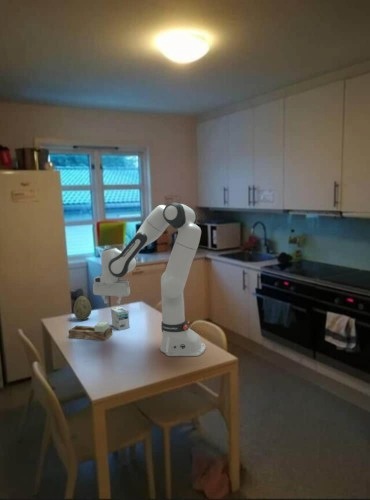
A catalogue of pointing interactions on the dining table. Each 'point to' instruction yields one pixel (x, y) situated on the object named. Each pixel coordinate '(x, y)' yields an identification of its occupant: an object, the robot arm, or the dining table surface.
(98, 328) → the block
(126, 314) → the light bulb box
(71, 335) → the beam
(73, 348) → the dining table surface
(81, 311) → the decorative egg
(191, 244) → the robot arm
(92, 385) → the dining table surface
